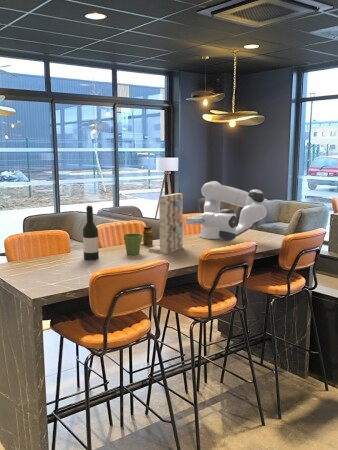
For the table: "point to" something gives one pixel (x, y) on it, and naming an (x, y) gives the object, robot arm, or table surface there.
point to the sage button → (177, 230)
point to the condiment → (147, 237)
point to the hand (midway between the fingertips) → (187, 218)
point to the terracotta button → (176, 216)
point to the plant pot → (132, 243)
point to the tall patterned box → (169, 224)
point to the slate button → (177, 203)
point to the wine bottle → (90, 237)
